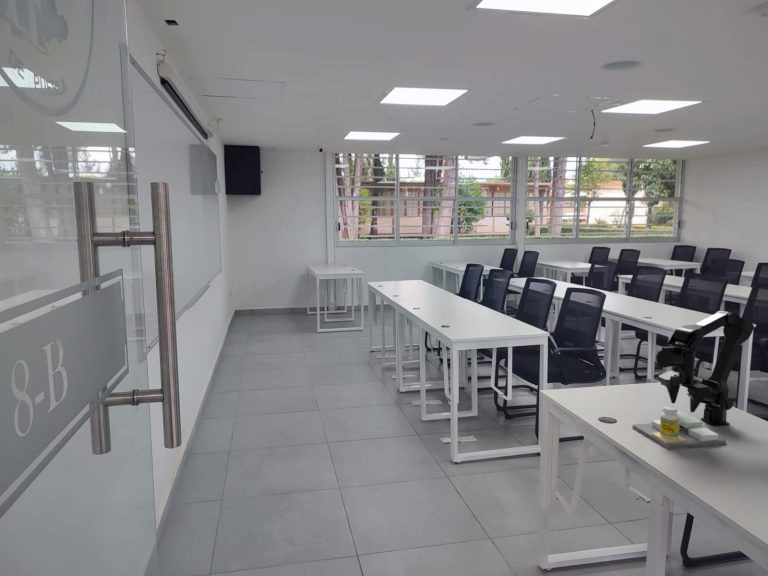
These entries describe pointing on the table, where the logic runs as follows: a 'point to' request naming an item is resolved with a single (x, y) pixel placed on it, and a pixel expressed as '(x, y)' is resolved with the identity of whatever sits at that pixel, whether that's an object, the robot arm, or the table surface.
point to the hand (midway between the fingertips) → (682, 407)
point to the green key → (688, 420)
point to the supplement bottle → (669, 423)
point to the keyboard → (680, 436)
